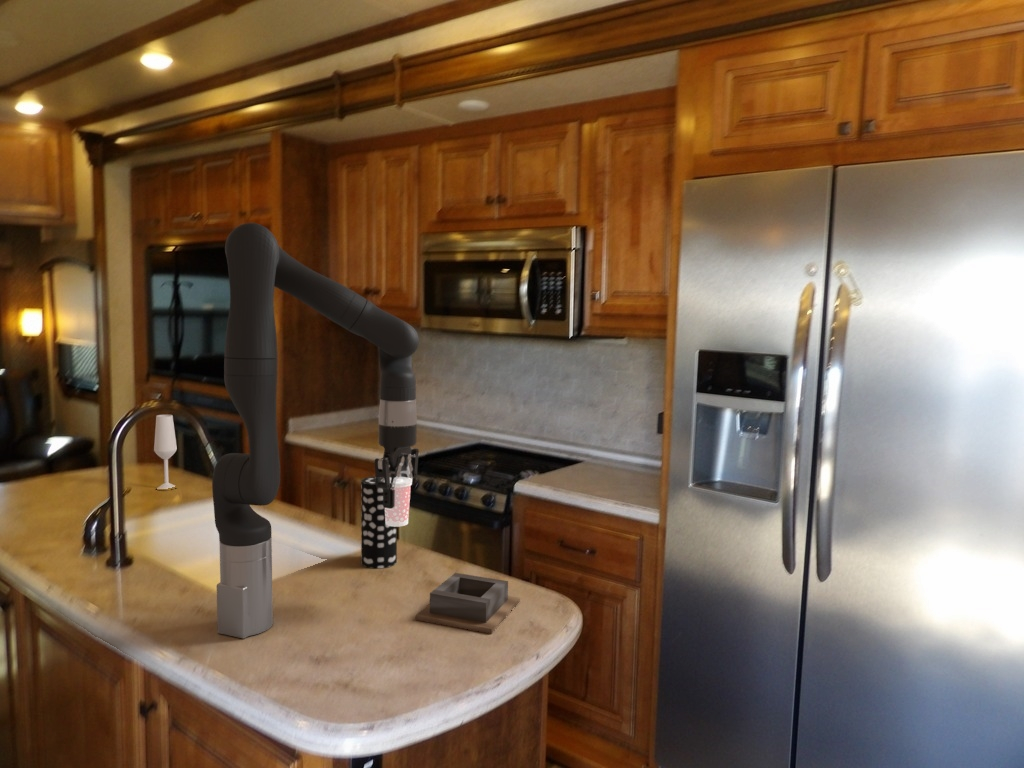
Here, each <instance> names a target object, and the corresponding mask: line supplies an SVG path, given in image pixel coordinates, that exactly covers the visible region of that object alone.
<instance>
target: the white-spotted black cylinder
mask: <svg viewBox="0 0 1024 768" xmlns="http://www.w3.org/2000/svg"><path fill="white" fill-rule="evenodd" d="M382 479H383V477H381V482H382ZM360 483H361V484H360V493H361V494H360V496H361V497H360V499H361V501H360V502H361V503H360V505H361V506H360V510H361V511H360V516H361V517H360V519H361V521H360V523H361V524H360V526H361V529H360V531H361V533H360V534H361V535H360V536H361V539H360V540H361V541H360V545H361V547H360V548H361V552H360V553H361V554H360V555H361V556H360V558H361V559H360V560H361V565H362V566H363V567H366V568H369V569H385V568H389V567H392V566H394V565H396V564H397V559H398V557H397V555H398V554H397V552H398V551H397V550H398V549H397V548H398V546H397V544H398V543H397V541H398V540H397V539H398V538H397V537H398V527H393V526H388V525H386V524H385V508H384V507H383V489H381V488H377V487H376V476H367V477H364V478H362V479H361V480H360Z"/></svg>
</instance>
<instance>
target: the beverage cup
mask: <svg viewBox="0 0 1024 768" xmlns="http://www.w3.org/2000/svg"><path fill="white" fill-rule="evenodd" d="M391 479H392V478H390V483H391ZM412 485H413V481H412V479H411V478H408V477H399V479H397V480H396V484H395V488H394V490H395V506H394V507H393V508H385V524H386V525H388V526H393V527H397V528H399V527H404V526H407V525H408V524H409V518H410V515H409V514H410V503H411V502H410V500H411V499H410V490H411V486H412Z"/></svg>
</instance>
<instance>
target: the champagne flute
mask: <svg viewBox="0 0 1024 768" xmlns="http://www.w3.org/2000/svg"><path fill="white" fill-rule="evenodd" d="M153 444H154V445H153V452H154V453H155V454H156V455H157V457H159V458H160V459H162V460H163V469H164V471H163V475H164V483H162V484H161V485H159V486H158V487H156V488H157V489H168V488H172V487H175V486H176V485H175V484H173V483H170V482H169V480H170V479H169V459H171V457H172V456H174V454H175V453H176V452H177V449H178V448H177V438H176V431H175V424H174V416H173V414H157V415H155V430H154V443H153Z"/></svg>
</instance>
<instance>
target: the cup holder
mask: <svg viewBox="0 0 1024 768" xmlns="http://www.w3.org/2000/svg"><path fill="white" fill-rule="evenodd" d="M519 602H520V603H521V598H520V597H518V596H512V595H509V580H505V579H504V580H503V579H498V578H497V579H496V578H492V577H491V578H490V577H484V576H479V575H472V574H464V573H459V572H455V573H453V574H452V575H451V576H448V578H447V579H446V580H444V581H443V582H442V583H441V584H439V585H438V586H437V587H436V588H435V589H433V590H432V591H431V592H429V604H427V605H426V606H425V607H424V608H423V609H421V610H420V611H419V612H418V613H417V614H416V615H415V621H420V622H426V623H431V624H435V623H436V624H437V625H441V624H442V625H441V626H446V625H447V627H451V626H453V628H457V627H459V628H458V629H462V628H464V629H463V630H467V629H468V631H473V632H478V631H479V633H483V632H486V633H485V634H489V633H491V634H490V635H493V633H494V632H495V631H496V630H497V629H496V628H499V626H500V625H501V624H502V623H503V622H504V621H505V620H504V619H507V617H508V616H509V615H510V614H511V613H512V612H511V610H512V609H513V608H514V607H515V606H516V605H517V604H518V603H519ZM520 603H519V604H520ZM519 604H518V605H519ZM518 605H517V606H518ZM517 606H516V607H517ZM516 607H515V608H516ZM515 608H514V609H515ZM510 612H511V613H510ZM509 613H510V614H509ZM508 614H509V615H508ZM507 615H508V616H507ZM506 616H507V617H506ZM503 620H504V621H503ZM502 621H503V622H502ZM501 622H502V623H501ZM500 623H501V624H500ZM499 624H500V625H499ZM495 629H496V630H495ZM494 630H495V631H494ZM493 631H494V632H493Z"/></svg>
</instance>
